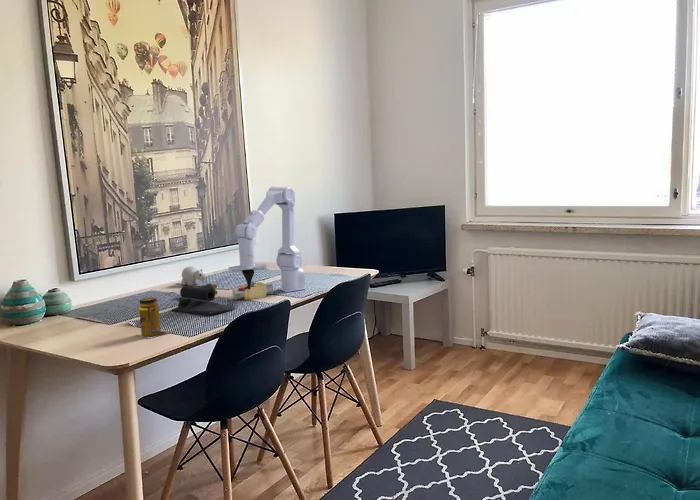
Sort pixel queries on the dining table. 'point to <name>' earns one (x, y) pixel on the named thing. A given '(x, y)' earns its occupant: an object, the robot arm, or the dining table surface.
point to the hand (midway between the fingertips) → (249, 289)
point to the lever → (246, 286)
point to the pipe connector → (199, 292)
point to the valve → (253, 291)
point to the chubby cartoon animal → (192, 276)
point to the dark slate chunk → (201, 306)
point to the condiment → (150, 318)
